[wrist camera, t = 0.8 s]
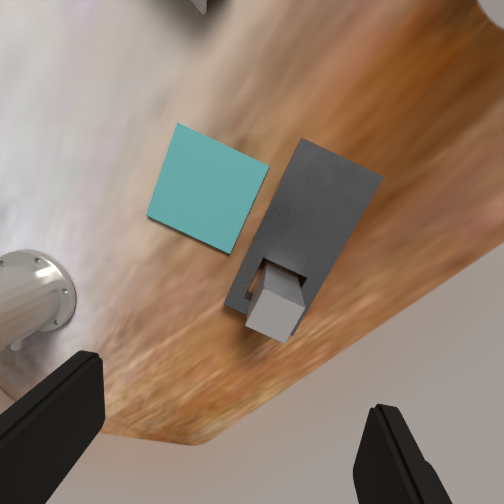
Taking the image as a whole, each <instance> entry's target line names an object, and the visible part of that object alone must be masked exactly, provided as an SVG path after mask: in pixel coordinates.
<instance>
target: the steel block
mask: <svg viewBox="0 0 504 504" xmlns="http://www.w3.org/2000/svg"><path fill="white" fill-rule="evenodd" d="M304 309H305V305H304V300H303V296H302V292H301V288H300V284H299V280H298V276H297V274H296V273H294V272H292V271H289V270H287V269H285V268H283V267H281V266H279V265H277V264H274V263H272V262H270V261H268V260H267V261H266V263H265V265H264V267H263V269H262V271H261V273H260V276H259V278H258V280H257V282H256V284H255V286H254V288H253V292H252V297H251V301H250V306H249V310H248V315H247V320H246V324H245V326H247V327H249V328H251V329H254V330H256V331H258V332H260V333H262V334H265V335H267V336H269V337H271V338H273V339H276V340H278V341H280V342H282V343H284V344H285V343H286V341H287V339H288V337H289V336H290V334H291V332H292V330H293V329H294V327H295V325H296V323H297V322H298V320H299V318H300V316H301V315H302V313H303V311H304Z"/></svg>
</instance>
